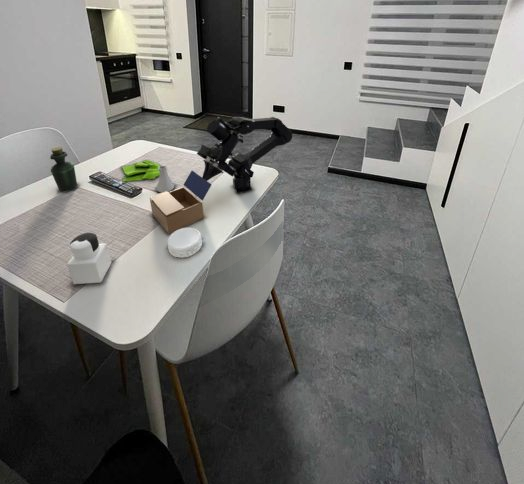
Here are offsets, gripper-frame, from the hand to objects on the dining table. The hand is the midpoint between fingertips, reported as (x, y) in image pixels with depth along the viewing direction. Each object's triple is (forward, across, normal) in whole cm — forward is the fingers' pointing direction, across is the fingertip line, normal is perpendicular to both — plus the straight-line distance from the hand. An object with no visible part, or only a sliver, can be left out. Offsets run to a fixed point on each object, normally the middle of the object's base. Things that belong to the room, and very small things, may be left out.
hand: (202, 181), depth 105 cm
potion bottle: (+34, -49, -19) cm, 62 cm away
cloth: (+13, -44, +1) cm, 46 cm away
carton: (+15, 0, -1) cm, 15 cm away
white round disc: (+18, +16, -4) cm, 25 cm away
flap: (+2, 0, -2) cm, 3 cm away
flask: (+12, -21, +3) cm, 24 cm away
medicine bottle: (+36, +8, -21) cm, 42 cm away
